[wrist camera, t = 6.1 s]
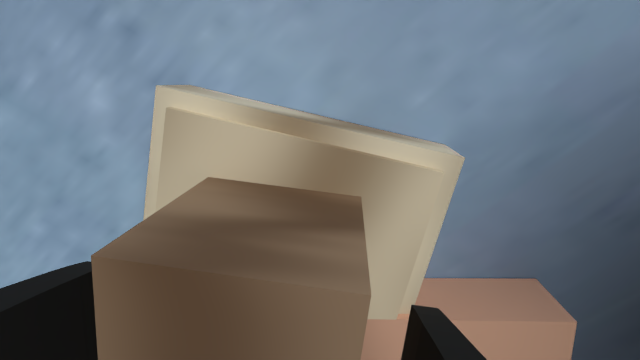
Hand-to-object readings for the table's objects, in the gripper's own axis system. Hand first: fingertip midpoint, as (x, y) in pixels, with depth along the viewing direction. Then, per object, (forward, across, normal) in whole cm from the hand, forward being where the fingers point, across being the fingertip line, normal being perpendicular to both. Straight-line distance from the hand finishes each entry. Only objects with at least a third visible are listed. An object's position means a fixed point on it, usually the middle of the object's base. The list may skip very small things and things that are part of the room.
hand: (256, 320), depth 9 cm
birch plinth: (+5, 0, 0) cm, 5 cm away
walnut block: (+3, 0, 0) cm, 3 cm away
